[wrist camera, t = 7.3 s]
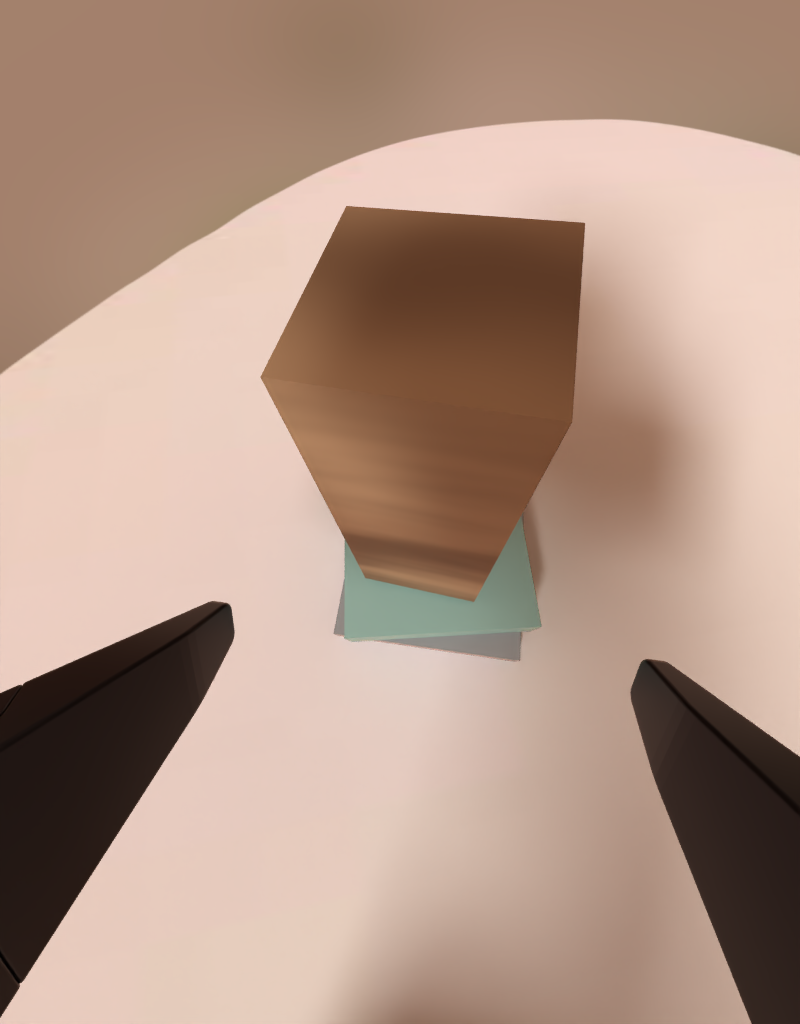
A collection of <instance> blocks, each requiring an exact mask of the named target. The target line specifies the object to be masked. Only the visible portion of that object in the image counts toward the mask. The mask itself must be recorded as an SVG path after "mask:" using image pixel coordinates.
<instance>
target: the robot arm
mask: <svg viewBox="0 0 800 1024" xmlns="http://www.w3.org/2000/svg"><path fill="white" fill-rule="evenodd" d="M233 639H234V624H233V616H232V609H231V606H230V605H229V604H228V603H224V602H217V601H211V602H208V603H206V604H203V605H201V606H199V607H197V608H194V609H192V610H190V611H187V612H185V613H183V614H181V615H178V616H176V617H174V618H171V619H169V620H167V621H165V622H162V623H160V624H158V625H155V626H153V627H151V628H148V629H146V630H144V631H142V632H139V633H137V634H135V635H132V636H130V637H128V638H126V639H123V640H121V641H119V642H116V643H114V644H112V645H110V646H107V647H105V648H103V649H100V650H98V651H96V652H94V653H91V654H89V655H87V656H84V657H82V658H80V659H78V660H75V661H73V662H71V663H68V664H66V665H64V666H62V667H59V668H57V669H55V670H52V671H50V672H48V673H45V674H43V675H41V676H39V677H36V678H34V679H32V680H29V681H27V682H25V683H24V684H23V686H22V685H18V686H15V687H13V688H11V689H9V690H6V691H4V692H2V693H0V1017H1V1016H2V1014H3V1013H4V1011H5V1010H6V1008H7V1006H8V1005H9V1003H10V1002H11V1000H12V999H13V997H14V996H15V994H16V992H17V991H18V989H19V987H20V984H19V983H22V982H23V981H24V979H25V978H26V976H27V975H28V973H29V971H30V970H31V968H32V967H33V965H34V964H35V962H36V961H37V959H38V957H39V956H40V954H41V953H42V951H43V950H44V948H45V946H46V945H47V943H48V942H49V940H50V939H51V937H52V936H53V934H54V932H55V931H56V929H57V928H58V926H59V925H60V923H61V921H62V920H63V918H64V917H65V915H66V914H67V912H68V911H69V909H70V907H71V906H72V904H73V903H74V901H75V900H76V898H77V897H78V895H79V893H80V892H81V890H82V889H83V887H84V886H85V884H86V882H87V881H88V879H89V878H90V876H91V875H92V873H93V872H94V870H95V868H96V867H97V865H98V864H99V862H100V861H101V859H102V858H103V856H104V854H105V853H106V851H107V850H108V848H109V847H110V845H111V843H112V842H113V840H114V839H115V837H116V836H117V834H118V833H119V831H120V829H121V828H122V826H123V825H124V823H125V822H126V820H127V819H128V817H129V815H130V814H131V812H132V811H133V809H134V808H135V806H136V804H137V803H138V801H139V800H140V798H141V797H142V795H143V794H144V792H145V790H146V789H147V787H148V786H149V784H150V783H151V781H152V780H153V778H154V776H155V775H156V773H157V772H158V770H159V769H160V767H161V765H162V764H163V762H164V761H165V759H166V758H167V756H168V755H169V753H170V751H171V750H172V748H173V747H174V745H175V744H176V742H177V740H178V739H179V737H180V736H181V734H182V733H183V731H184V730H185V728H186V726H187V725H188V723H189V722H190V720H191V719H192V717H193V716H194V714H195V712H196V711H197V709H198V707H199V706H200V704H201V702H202V701H203V699H204V697H205V695H206V693H207V691H208V689H209V687H210V685H211V683H212V681H213V679H214V678H215V676H216V674H217V672H218V670H219V668H220V666H221V664H222V662H223V660H224V658H225V656H226V654H227V652H228V650H229V648H230V646H231V644H232V642H233ZM631 701H632V705H633V708H634V711H635V715H636V718H637V722H638V725H639V729H640V732H641V736H642V739H643V743H644V746H645V749H646V753H647V756H648V760H649V763H650V767H651V770H652V773H653V776H654V779H655V782H656V784H657V787H658V790H659V792H660V795H661V797H662V800H663V802H664V805H665V807H666V810H667V812H668V815H669V817H670V820H671V822H672V825H673V827H674V830H675V833H676V835H677V838H678V840H679V843H680V845H681V848H682V850H683V853H684V855H685V858H686V860H687V863H688V865H689V868H690V870H691V873H692V875H693V878H694V880H695V883H696V885H697V888H698V890H699V893H700V895H701V898H702V900H703V903H704V905H705V908H706V910H707V913H708V915H709V918H710V920H711V923H712V925H713V928H714V930H715V933H716V935H717V938H718V940H719V943H720V946H721V948H722V951H723V953H724V956H725V958H726V961H727V963H728V966H729V968H730V971H731V973H732V976H733V978H734V981H735V983H736V986H737V988H738V991H739V993H740V996H741V998H742V1001H743V1003H744V1006H745V1008H746V1011H747V1013H748V1016H749V1018H750V1021H751V1023H752V1024H800V757H799V756H798V755H797V754H795V753H794V752H792V751H791V750H790V749H788V748H787V747H785V746H784V745H783V744H781V743H780V742H778V741H777V740H776V739H774V738H773V737H771V736H770V735H769V734H767V733H766V732H764V731H763V730H762V729H760V728H759V727H757V726H756V725H755V724H753V723H752V722H750V721H749V720H748V719H746V718H745V717H743V716H742V715H741V714H739V713H738V712H736V711H735V710H733V709H732V708H731V707H729V706H728V705H726V704H725V703H724V702H722V701H721V700H719V699H718V698H717V697H715V696H714V695H712V694H711V693H710V692H708V691H707V690H705V689H704V688H703V687H701V686H700V685H698V684H697V683H696V682H694V681H693V680H691V679H690V678H689V677H687V676H686V675H684V674H683V673H682V672H680V671H679V670H677V669H676V668H675V667H673V666H672V665H670V664H669V663H667V662H665V661H658V660H651V659H645V660H643V661H642V662H641V664H640V666H639V669H638V671H637V674H636V677H635V679H634V682H633V685H632V688H631Z"/></svg>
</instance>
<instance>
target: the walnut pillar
mask: <svg viewBox="0 0 800 1024" xmlns="http://www.w3.org/2000/svg"><path fill="white" fill-rule="evenodd" d="M584 232H585V223H579V222H565V221H551V220H536V219H522V218H508V217H494V216H480V215H465V214H451V213H437V212H423V211H409V210H394V209H380V208H366V207H352V206H346V208H345V210H344V212H343V214H342V216H341V218H340V220H339V222H338V224H337V226H336V228H335V230H334V232H333V234H332V236H331V238H330V240H329V242H328V244H327V246H326V248H325V250H324V252H323V254H322V256H321V258H320V260H319V262H318V264H317V266H316V268H315V270H314V272H313V274H312V276H311V278H310V280H309V282H308V284H307V286H306V288H305V290H304V292H303V294H302V296H301V298H300V300H299V302H298V304H297V306H296V308H295V310H294V312H293V314H292V316H291V318H290V320H289V322H288V324H287V326H286V328H285V330H284V332H283V333H282V335H281V337H280V339H279V341H278V343H277V345H276V347H275V349H274V351H273V353H272V355H271V357H270V359H269V361H268V363H267V365H266V367H265V369H264V371H263V373H262V375H261V379H262V381H263V383H264V385H265V386H266V388H267V390H268V392H269V394H270V396H271V398H272V400H273V402H274V404H275V406H276V408H277V409H278V411H279V413H280V415H281V417H282V419H283V421H284V423H285V425H286V427H287V429H288V431H289V433H290V434H291V436H292V438H293V440H294V442H295V444H296V446H297V448H298V450H299V452H300V454H301V456H302V457H303V459H304V461H305V463H306V465H307V467H308V469H309V471H310V473H311V475H312V477H313V479H314V481H315V482H316V484H317V486H318V488H319V490H320V492H321V494H322V496H323V498H324V500H325V502H326V504H327V505H328V507H329V509H330V511H331V513H332V515H333V517H334V519H335V521H336V523H337V525H338V527H339V529H340V530H341V532H342V534H343V536H344V538H345V540H346V542H347V544H348V546H349V548H350V550H351V552H352V553H353V555H354V557H355V559H356V561H357V563H358V565H359V567H360V569H361V571H362V573H363V575H364V577H365V578H367V579H372V580H376V581H381V582H385V583H390V584H395V585H399V586H404V587H408V588H413V589H417V590H422V591H426V592H431V593H435V594H440V595H445V596H449V597H454V598H458V599H463V600H467V601H472V602H474V601H475V599H476V598H477V596H478V594H479V592H480V590H481V588H482V587H483V585H484V583H485V581H486V579H487V577H488V575H489V574H490V572H491V570H492V568H493V566H494V564H495V563H496V561H497V559H498V557H499V555H500V553H501V552H502V550H503V548H504V546H505V544H506V542H507V541H508V539H509V537H510V535H511V533H512V531H513V530H514V528H515V526H516V524H517V522H518V520H519V519H520V517H521V515H522V513H523V511H524V509H525V508H526V506H527V504H528V502H529V500H530V498H531V497H532V495H533V493H534V491H535V489H536V487H537V485H538V484H539V482H540V480H541V478H542V476H543V474H544V473H545V471H546V469H547V467H548V465H549V463H550V462H551V460H552V458H553V456H554V454H555V452H556V451H557V449H558V447H559V445H560V443H561V441H562V440H563V438H564V436H565V434H566V432H567V430H568V429H569V427H570V425H571V423H572V414H573V399H574V384H575V368H576V353H577V338H578V323H579V308H580V293H581V277H582V262H583V247H584Z"/></svg>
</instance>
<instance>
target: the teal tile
mask: <svg viewBox="0 0 800 1024" xmlns="http://www.w3.org/2000/svg"><path fill="white" fill-rule="evenodd" d="M540 627H542V626H541V621H540V616H539V610H538V605H537V600H536V594H535V589H534V583H533V578H532V573H531V567H530V562H529V557H528V551H527V546H526V541H525V535H524V530H523V524H522V519H521V517H520V519H519V520H518V522H517V524H516V526H515V528H514V530H513V531H512V533H511V535H510V537H509V539H508V541H507V542H506V544H505V546H504V548H503V550H502V552H501V553H500V555H499V557H498V559H497V561H496V563H495V564H494V566H493V568H492V570H491V572H490V574H489V575H488V577H487V579H486V581H485V583H484V585H483V587H482V588H481V590H480V592H479V594H478V596H477V598H476V599H475V601H474V602H472V601H467V600H463V599H458V598H454V597H449V596H445V595H440V594H435V593H431V592H426V591H422V590H417V589H413V588H408V587H404V586H399V585H395V584H390V583H385V582H381V581H376V580H372V579H367V578H365V577H364V575H363V573H362V571H361V569H360V567H359V565H358V563H357V561H356V559H355V557H354V555H353V553H352V552H351V550H350V548H349V546H348V544H347V542H346V540H345V616H344V639H347V640H349V641H352V642H357V641H374V640H390V639H407V638H424V637H441V636H458V635H475V634H491V633H508V632H525V631H532V630H534V629H537V628H540Z"/></svg>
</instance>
